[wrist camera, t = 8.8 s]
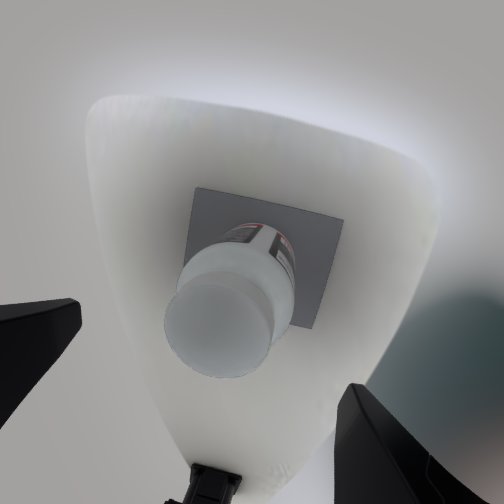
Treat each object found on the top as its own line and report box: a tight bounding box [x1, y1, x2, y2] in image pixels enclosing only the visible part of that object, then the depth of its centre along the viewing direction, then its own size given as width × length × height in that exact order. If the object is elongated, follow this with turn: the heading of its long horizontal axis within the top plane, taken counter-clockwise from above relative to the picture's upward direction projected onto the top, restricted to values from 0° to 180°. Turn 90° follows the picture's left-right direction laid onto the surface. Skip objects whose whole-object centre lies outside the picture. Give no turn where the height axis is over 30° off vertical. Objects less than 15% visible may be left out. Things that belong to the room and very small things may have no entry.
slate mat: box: [183, 188, 343, 329], centre depth 19 cm, size 8×10×1 cm
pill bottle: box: [164, 223, 296, 378], centre depth 14 cm, size 5×5×10 cm
